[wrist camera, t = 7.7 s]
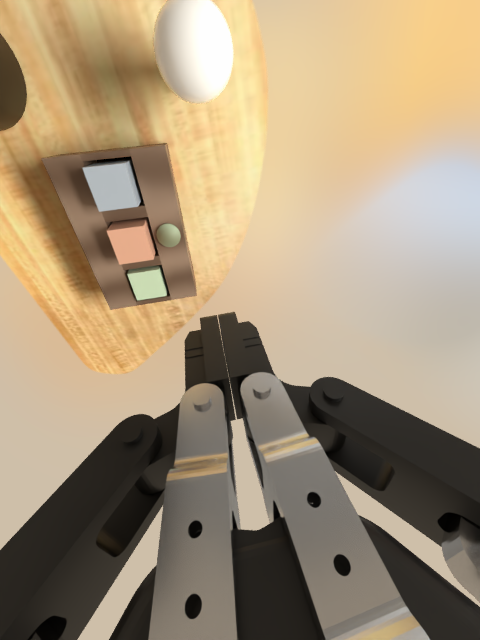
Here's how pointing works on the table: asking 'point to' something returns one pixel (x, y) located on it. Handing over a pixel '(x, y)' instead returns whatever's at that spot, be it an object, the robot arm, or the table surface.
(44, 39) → the table surface
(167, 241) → the console
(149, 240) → the terracotta button
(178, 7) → the lightbulb
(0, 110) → the mug
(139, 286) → the sage button
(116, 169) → the slate button
